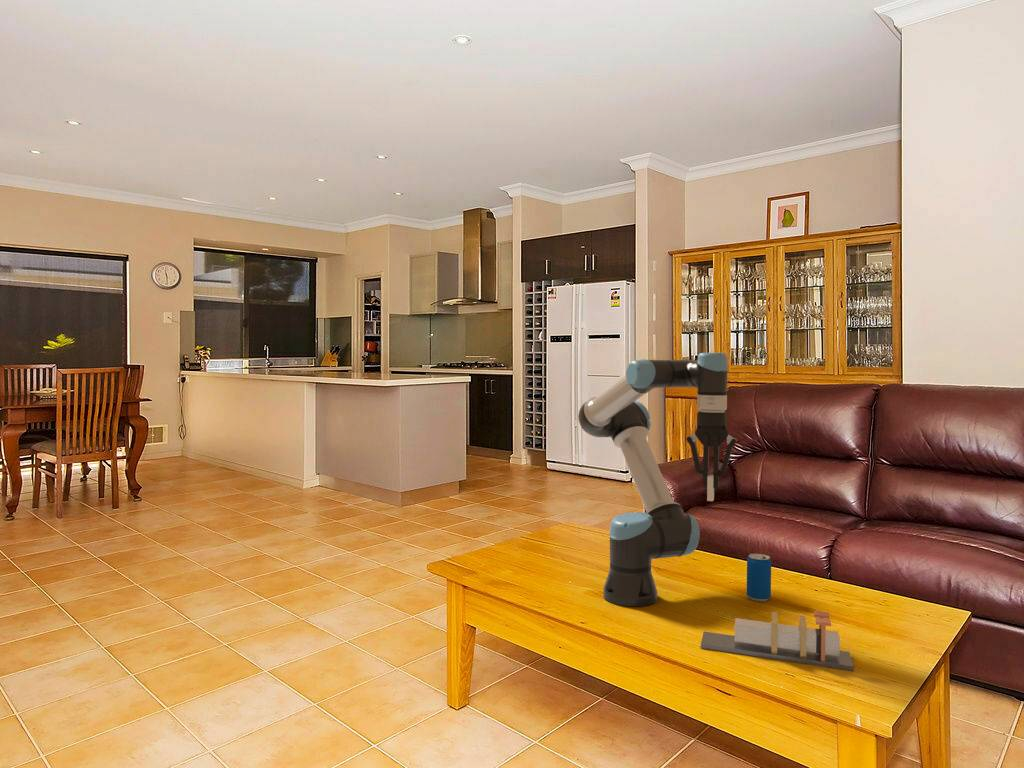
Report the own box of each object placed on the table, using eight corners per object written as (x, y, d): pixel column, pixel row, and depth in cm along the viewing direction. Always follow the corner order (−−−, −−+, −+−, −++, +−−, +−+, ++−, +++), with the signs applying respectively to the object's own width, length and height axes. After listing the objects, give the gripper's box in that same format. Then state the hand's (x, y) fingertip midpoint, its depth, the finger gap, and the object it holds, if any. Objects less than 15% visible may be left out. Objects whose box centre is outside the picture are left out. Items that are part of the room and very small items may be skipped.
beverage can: (772, 603, 188) (773, 560, 188) (748, 601, 189) (748, 558, 189) (768, 595, 194) (769, 553, 194) (745, 593, 196) (745, 552, 195)
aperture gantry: (815, 660, 149) (816, 621, 149) (813, 647, 156) (814, 610, 156) (830, 662, 148) (831, 623, 148) (827, 649, 155) (828, 612, 155)
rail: (700, 648, 158) (701, 614, 158) (703, 635, 165) (704, 603, 165) (853, 671, 146) (854, 634, 146) (849, 656, 154) (850, 621, 154)
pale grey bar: (734, 641, 157) (734, 624, 157) (735, 634, 161) (735, 617, 161) (839, 656, 149) (839, 638, 149) (837, 649, 153) (838, 631, 153)
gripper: (684, 411, 177) (683, 500, 178) (736, 412, 172) (735, 504, 173) (688, 409, 184) (687, 495, 185) (738, 410, 179) (737, 499, 180)
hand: (710, 500), depth 179 cm, fingers closed
